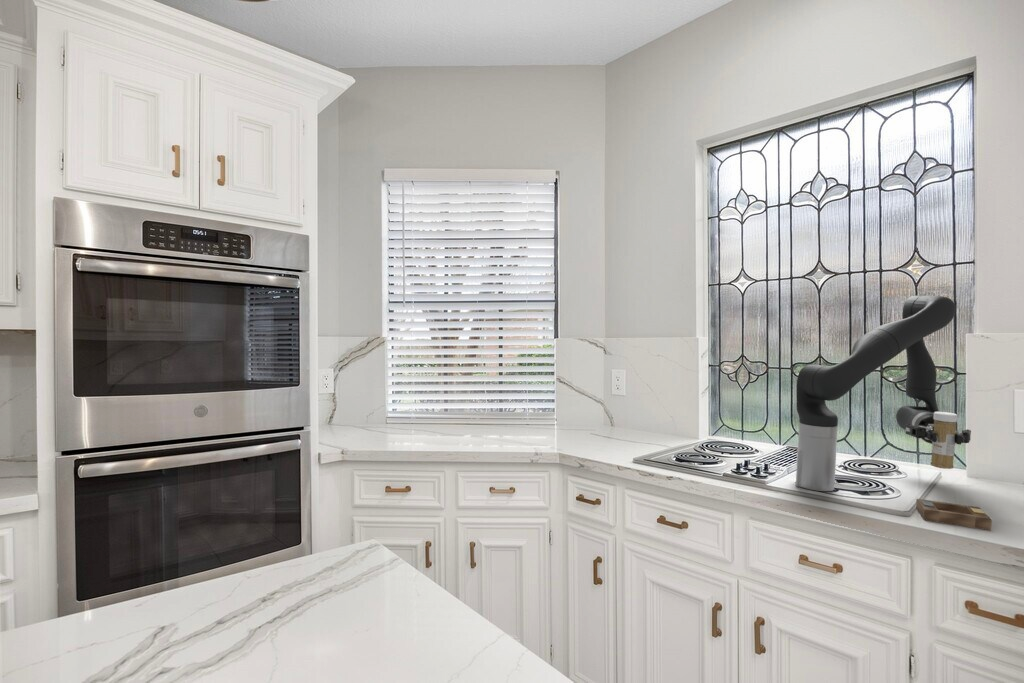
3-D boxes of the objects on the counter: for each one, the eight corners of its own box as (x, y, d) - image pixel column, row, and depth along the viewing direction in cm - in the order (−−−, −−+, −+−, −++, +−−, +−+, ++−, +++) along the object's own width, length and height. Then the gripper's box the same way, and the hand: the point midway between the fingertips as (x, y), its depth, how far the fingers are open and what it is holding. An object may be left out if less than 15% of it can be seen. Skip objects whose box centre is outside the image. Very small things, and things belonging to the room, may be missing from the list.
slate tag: (924, 505, 130) (924, 504, 130) (921, 502, 133) (921, 500, 133) (934, 507, 129) (934, 506, 129) (931, 503, 132) (931, 502, 132)
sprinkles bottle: (925, 464, 139) (929, 411, 138) (942, 464, 139) (945, 411, 139) (941, 469, 134) (945, 414, 134) (958, 469, 135) (962, 414, 134)
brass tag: (973, 513, 126) (973, 511, 126) (969, 509, 129) (969, 507, 129) (985, 514, 125) (985, 513, 125) (980, 510, 128) (980, 509, 128)
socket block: (923, 519, 128) (924, 509, 128) (916, 508, 136) (916, 498, 136) (990, 530, 122) (991, 518, 122) (978, 517, 130) (979, 507, 130)
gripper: (899, 410, 152) (912, 420, 137) (965, 416, 146) (985, 426, 131) (898, 437, 153) (910, 450, 137) (963, 444, 146) (983, 458, 131)
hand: (947, 438), depth 134 cm, fingers closed on sprinkles bottle, 4 cm apart
